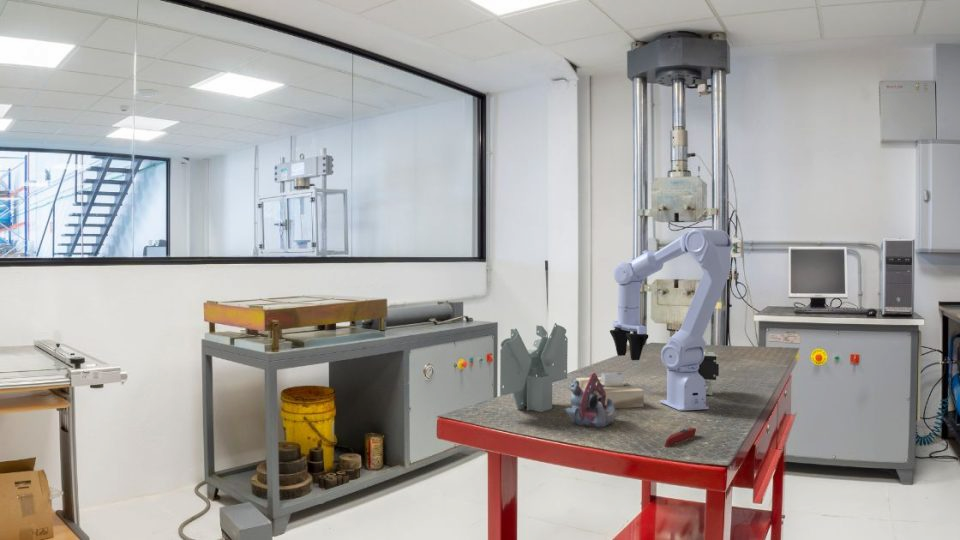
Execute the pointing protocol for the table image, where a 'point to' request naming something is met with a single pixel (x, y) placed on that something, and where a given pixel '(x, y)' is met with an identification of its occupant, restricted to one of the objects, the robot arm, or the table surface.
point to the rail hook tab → (612, 379)
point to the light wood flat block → (619, 394)
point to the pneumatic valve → (709, 369)
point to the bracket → (533, 368)
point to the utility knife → (680, 436)
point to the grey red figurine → (590, 404)
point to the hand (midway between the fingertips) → (628, 357)
